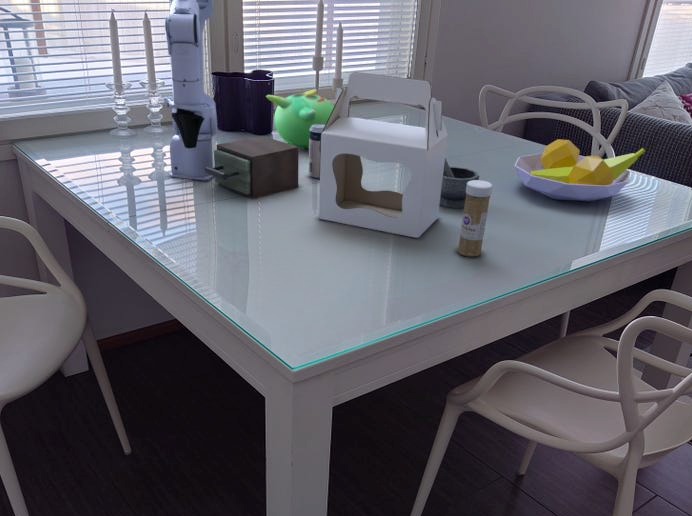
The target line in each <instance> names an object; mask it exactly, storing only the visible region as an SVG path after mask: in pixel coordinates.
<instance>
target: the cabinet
mask: <svg viewBox="0 0 692 516" xmlns="http://www.w3.org/2000/svg"><path fill="white" fill-rule="evenodd" d="M215 147H216V150H217V149H218V150H221V151H224V152H225V151H226V152H229V153H232V154H235V155H238V156H240V157H243V158H246V159H249V160H250V170H251V194H248V195H247V194H244V193H242V192H239V191H237V190H234V189H231V188H229V187H226V186H224V185H221V184H219V183H217V184H218V185H219V186H221V187H224V188H226V189H229V190H232V191H233V192H236V193H239V194H241V195H244V196H246V197H249V198H251V199H256V198H259V197H264V196H267V195H272V194H275V193H279V192H283V191H286V190H290V189H294V188H299V166H300V165H299V163H300V162H299V158H300V152H299V150H300V147H297V146H294V145H292V144H290V143H288V142H283V141H280V140H277V139H274V138H271V137H268V136H266V135H265V136H264V135H259V136H255V137H249V138H244V139H238V140H233V141H229V142H223V143H218V144H217V143H216V146H215Z"/></svg>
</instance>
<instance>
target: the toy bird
mask: <svg viewBox="0 0 692 516" xmlns="http://www.w3.org/2000/svg"><path fill="white" fill-rule="evenodd" d="M317 91H318V89H311V90H307V91H303V92H298V93H294V94H291V95H289V96H287V97H283V96H278V95H273V94H267V95H266V96H265V98H266V99H267V100H269V101H270V102H272V103H273V104H275V105H277V106H276V109H275V111H274V117H273V122H274V127H275V130H276V131H277V133H278V135H279V136H280V138H282V139H283V141H285V142H286V143H287V144H290V145H293V146H297V147H299V148H304V149H309V131H310V128H311V126H312V125H313V124H325V125H326V123H327V120H328V118H329V116H330V114H331V112H332V110H333V108H334V106H335V105H334V104H333V103H332V102H331V101H329V100H328V99H327V98H325V97H324V96H322V95H318V94H316V92H317ZM337 120H338V119H337Z"/></svg>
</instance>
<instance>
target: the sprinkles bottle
mask: <svg viewBox="0 0 692 516" xmlns="http://www.w3.org/2000/svg"><path fill="white" fill-rule="evenodd" d="M492 192H493V184H492V183H491V182H489V181H486V180H482V179H481V180H480V179H479V180H472V181H469V182H468V183H467V187H466V201H465V206H464V207H463V214H462V219H461V225H460V231H459V239H458V240H459V241H458V247H457V248H456V249H457V252H458V253H459V254H460V255H462V256H464V257H469V258H473V257H474V258H475V257H478V256H480V255H481V254H482V246H483V241H484V236H485V231H486V224H487V218H488V210H489V203H490V198H491V196H492Z"/></svg>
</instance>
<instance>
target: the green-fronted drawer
mask: <svg viewBox="0 0 692 516" xmlns="http://www.w3.org/2000/svg"><path fill="white" fill-rule="evenodd" d="M213 163H214V166H213V168H211V167H208V166H207V167H206V168H205V173H207V174H210V175H212V176H213V177H214V180H215V183H217V184H218V183H219V184H221V185H224V186H226V187H229V188H231V189H234V190H237V191H239V192H242V193H244V194H247V195H248V194H251V170H250V160H249V159H246V158H243V157H240V156H238V155H235V154H232V153H229V152H226V151H225V152H224V151H221V150H218V149H217V148H216V149H213ZM219 184H218V185H219ZM221 185H220V186H221ZM224 186H223V187H224ZM226 187H225V188H226ZM229 188H228V189H229ZM231 189H230V190H231ZM234 190H233V191H234ZM239 192H238V193H239ZM244 194H243V195H244Z"/></svg>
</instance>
